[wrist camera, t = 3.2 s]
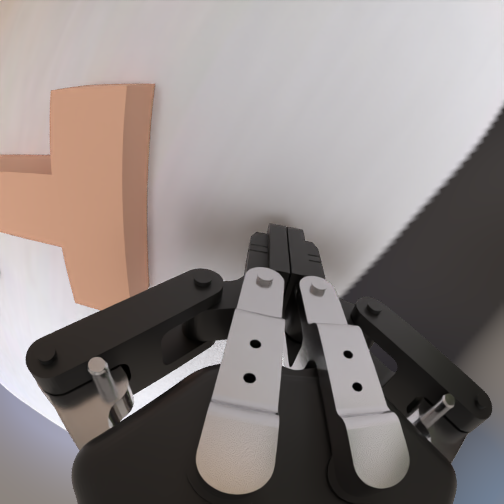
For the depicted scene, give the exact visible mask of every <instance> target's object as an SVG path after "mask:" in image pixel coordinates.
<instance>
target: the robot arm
mask: <svg viewBox="0 0 504 504" xmlns="http://www.w3.org/2000/svg"><path fill="white" fill-rule="evenodd" d="M225 339H227V342H226V346H225V350H224V354H223V357H222V361H221V364H217V365H212V366H208V367H205V368H202V369H200V370H198V371H196V372H194V373H192V374H190V375H189V376H187V377H186V378H184V379H183V380H182V381H180V382H179V383H177V384H176V385H175V386H173V387H172V388H170V389H169V390H167V391H166V392H164V393H163V394H162V395H160V396H159V397H157V398H156V399H154V400H153V401H151V402H150V403H148V404H147V405H145V406H144V407H142V408H141V409H139V410H138V411H136V412H135V413H133V414H132V415H130V416H129V417H127V418H125V419H124V420H122V419H123V418H124V417H125V416H126V415H127V414H128V413H129V412H130V411H131V409H132V407H133V404H134V397H133V395H134V394H136V393H137V392H139V391H141V390H142V389H144V388H146V387H147V386H149V385H151V384H152V383H154V382H156V381H157V380H159V379H161V378H162V377H164V376H165V375H167V374H169V373H170V372H172V371H174V370H175V369H177V368H178V367H180V366H182V365H183V364H185V363H186V362H188V361H189V360H191V359H193V358H194V357H196V356H197V355H199V354H200V353H202V352H203V351H205V350H207V349H208V348H210V347H211V346H212V345H213V344H214V343H215V340H225ZM374 342H376V343H377V344H378V345H379V346H380V347H381V348H382V349H383V350H384V351H386V352H387V353H388V354H389V355H390V356H391V357H392V358H393V359H394V360H395V361H396V362H397V365H398V369H397V371H396V372H392V371H391V370H389V369H388V368H387V367H386V366H385V365H384V364H383V363H382V362H381V361H380V360H379V359H377V358H376V357H375V356H374V355H373V354H372V353H371V352H370V351H369V349H370V348H371V346H372V345H373V343H374ZM282 357H284V366H285V367H284V366H282ZM26 365H27V367H28V369H29V371H30V372H31V374H32V375H33V377H34V378H35V380H36V381H37V384H38V386H39V387H40V389H41V390H42V392H43V393H44V394H45V396H46V397H47V399H48V400H49V401H50V402H51V404H52V405H53V406H54V407H55V409H56V411H57V413H58V415H59V417H60V418H61V420H62V422H63V424H64V426H65V427H66V429H67V431H68V432H69V434H70V436H71V437H72V439H73V441H74V442H75V444H76V446H77V447H78V449H79V450H80V451H79V453H78V454H77V456H76V458H75V461H74V463H73V468H72V484H73V489H74V492H75V495H76V498H77V502H78V504H453V501H454V498H455V494H456V488H457V480H456V474H455V471H454V469H453V467H452V465H451V463H452V461H453V459H454V458H455V456H456V454H457V453H458V451H459V449H460V447H461V445H462V444H463V442H464V439H465V438H466V436H467V434H468V433H470V432H471V431H472V430H474V429H475V428H476V427H477V426H479V425H480V424H481V423H483V422H484V421H485V420H486V419H487V418H489V416H490V415H491V413H492V404H491V401H490V398H489V397H488V395H487V394H486V393H485V392H484V391H483V390H482V389H481V388H480V387H479V386H478V385H477V384H476V383H475V382H473V381H472V380H471V379H470V378H469V377H468V376H467V375H466V374H465V373H464V372H462V371H461V370H460V369H459V368H458V367H457V366H456V365H455V364H454V363H452V361H450V360H449V359H448V358H447V357H446V356H445V355H443V354H442V353H441V352H440V351H439V350H438V349H437V348H436V347H434V346H433V345H432V344H431V343H430V342H429V341H427V340H426V339H425V338H424V337H423V336H422V335H421V334H419V333H418V332H417V331H416V330H415V329H413V328H412V327H411V326H410V325H409V324H408V323H406V322H405V321H404V320H403V319H402V318H400V317H399V316H398V315H397V314H396V313H394V312H393V311H392V310H391V309H389V308H388V307H387V306H386V305H385V304H383V303H382V302H381V301H379V300H377V299H375V298H372V297H361V298H359V299H358V300H357V302H356V304H353V303H351V302H348V301H345V300H343V299H341V298H339V297H338V295H337V292H336V290H335V288H334V286H333V285H332V284H331V283H330V282H328V281H327V280H326V279H325V275H324V271H323V267H322V263H321V259H320V255H319V251H318V249H317V247H316V246H315V245H314V244H313V243H312V242H308V241H305V238H304V233H303V230H302V229H297V228H291V227H286V226H281V225H276V224H269V227H268V231H267V234H265V233H259V232H256V233H255V234H254V235H253V236H251V240H250V245H249V250H248V255H247V260H246V265H245V272H244V276H243V277H242V278H240V279H238V280H234V281H224V282H223V279H222V278H221V276H220V275H219V274H217V273H216V272H214V271H211V270H208V269H194V270H190V271H188V272H186V273H183V274H181V275H179V276H177V277H174V278H172V279H170V280H168V281H165V282H163V283H161V284H159V285H157V286H154V287H152V288H150V289H148V290H145V291H143V292H141V293H139V294H136V295H134V296H132V297H130V298H128V299H125V300H123V301H121V302H119V303H116V304H114V305H112V306H110V307H108V308H105V309H103V310H101V311H99V312H97V313H94V314H92V315H90V316H88V317H86V318H83V319H81V320H79V321H77V322H75V323H72V324H70V325H68V326H66V327H64V328H62V329H59V330H57V331H55V332H53V333H51V334H48V335H46V336H44V337H42V338H40V339H38V340H36V341H35V342H34V343H33V344H32V345H31V346H30V347H29V349H28V351H27V354H26ZM121 420H122V421H121ZM120 421H121V422H120Z"/></svg>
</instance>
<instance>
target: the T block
mask: <svg viewBox="0 0 504 504" xmlns="http://www.w3.org/2000/svg"><path fill="white" fill-rule="evenodd" d="M154 89H155V84H102V85H86V86H78V87H70V88H63V89H57V90H51V97H50V155H0V232H2V233H6V234H10V235H14V236H18V237H22V238H26V239H30V240H34V241H38V242H42V243H46V244H51V245H55V246H59V247H62V250H63V255H64V260H65V264H66V269H67V273H68V277H69V281H70V285H71V289H72V293H73V296H74V300H75V303H78V304H81V305H84V306H88V307H91V308H94V309H98V310H103V309H105V308H108V307H110V306H112V305H114V304H116V303H119V302H121V301H123V300H125V299H128V298H130V297H132V296H134V295H136V294H139V293H141V292H143V291H145V290H147V289H148V287H149V276H148V252H147V180H148V157H149V141H150V128H151V116H152V106H153V97H154Z"/></svg>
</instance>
